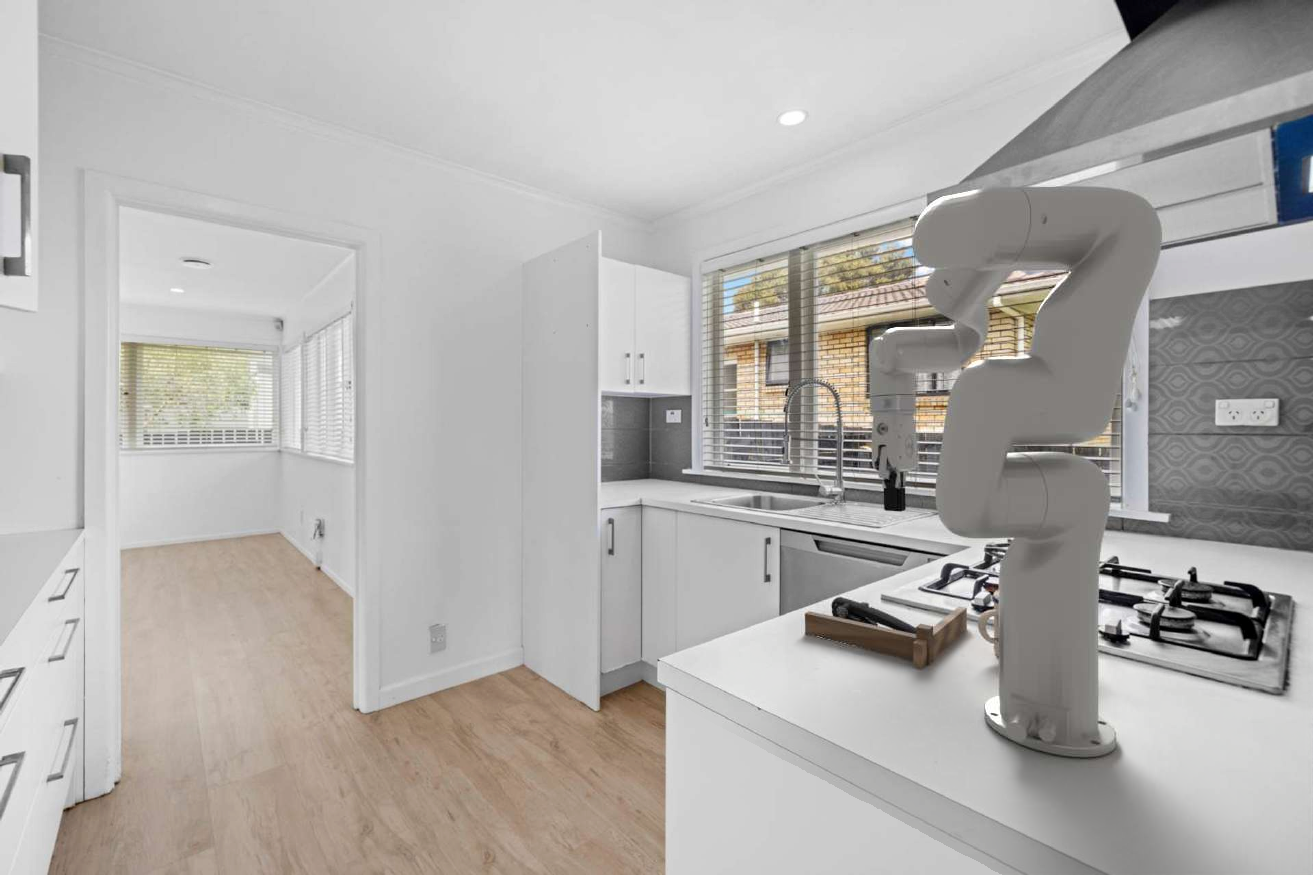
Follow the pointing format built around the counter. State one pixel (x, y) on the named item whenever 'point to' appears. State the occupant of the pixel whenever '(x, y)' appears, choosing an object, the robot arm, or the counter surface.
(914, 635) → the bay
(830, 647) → the counter surface
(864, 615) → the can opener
